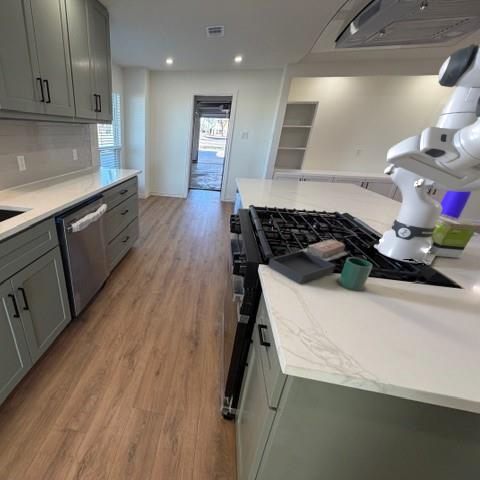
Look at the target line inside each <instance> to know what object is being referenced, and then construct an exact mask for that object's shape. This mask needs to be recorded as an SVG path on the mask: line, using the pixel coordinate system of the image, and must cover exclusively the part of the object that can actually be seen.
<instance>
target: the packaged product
mask: <svg viewBox="0 0 480 480" xmlns="http://www.w3.org/2000/svg"><path fill="white" fill-rule="evenodd" d="M345 247H346V244H345V243H344V242H342V241H338V240H336V239H332V238H330V239H326V240H323V241H319V242H315V243H313V244H309V245H308V246H307V247H306V248H303V249H299V251H301V250H303V251H305V252H307V253H309V254H312V255H314V256H316V257H319V258H321V259H323V260H325V261H328V262H330V261H334V260H338V259H340V258H342V257H344V256H348V254H349V252H347V251H345Z"/></svg>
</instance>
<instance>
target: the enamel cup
mask: <svg viewBox="0 0 480 480" xmlns="http://www.w3.org/2000/svg"><path fill="white" fill-rule="evenodd" d="M372 269H373V264H372V263H371V262H370V261H368V260H366V259H363V258H359V257H355V256H354V257H351V256H350V257H347V258H346V259H345V262H344V265H343V268H342V271H341V273H340V276H339V278H338V284H339V285H341V286H342V287H343V288H345V289H348V290H351V291H355V292H359V291H363V290H364V288H365V285H366V283H367V281H368V278H369V276H370V274H371V271H372Z"/></svg>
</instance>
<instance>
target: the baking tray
mask: <svg viewBox="0 0 480 480" xmlns="http://www.w3.org/2000/svg"><path fill="white" fill-rule="evenodd" d="M300 250H301V251H300ZM300 250H298V251H294V252H290V253H286V254H283V255H280V256H275V257H272V258H269V261H268V267H269V268H271V269H273V270H275V271H276V272H278V273H280V274H281V275H284V276H285V277H287V278H289V279H291V280H293V281H294V282H296V283H298V284H300V285H302V284H304V283H307V282H310V281H313V280H315V279H319V278H321V277H324V276H326V275H330V274H333V273H334V272H335V269H336V264H334V263H332V262H330V261H325V260H323V259H321V258H319V257H316V256H314V255H312V254H309V253H307V252H305V251H303V250H302V249H300ZM286 259H287V260H286ZM283 260H284V261H283Z"/></svg>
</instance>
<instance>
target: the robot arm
mask: <svg viewBox="0 0 480 480" xmlns="http://www.w3.org/2000/svg"><path fill="white" fill-rule="evenodd" d="M438 84H439V86H441V87H444V88H453V87H456V88H455V89H454V90H453V92H452V93H451V95H450V96H449V98H448V100H447V101H446V102H445V105H444V107H443V109H442V110H441V112H440V115H439V117H438V120H437V122H436V124H435V126H429V127H426V128H425V129H423V130H422V132H421V134H416V135H413V136H410V137H407V138H405V139H403V140H401V141H400V142H398V143H396V144H394V145H393V146H391V147H390V148H389V149H388V150H387V154H386V162H387V163H389V164H390V165H389V166H388V167H386V168H385V169H384V171H383V174H385V175H387V176H390V179H391V181H392V182H393V183H394V184H395V185H396V186H397V187H398V188H399V191H400V193H401V196H402V198H401V199H402V202H401V206H400V209H399V212H398V215H397V217H396V219H394V221H393V222H392V226H391V229H387V230H385V232H384V233H383V235H382V238H380V239H379V243H375V244H374V245H373V247H374V248H375V249H376V250H377V251H378V253H380V254H382V255H383V256H386V257H388V258H390V259H392V260H393V259H394V260H396V261H400V262H404V263H410V264H418V263H417V262H415V261H409V260H403V259H411V258H414V259H418V260H421V261H423V262H424V263H425V264H426V265H425V266H431V265H432V263H433V261H434V260H435V258H436V257H437V256H436V255H435V254H433V253H431V252H430V249H431V247H432V245H433V240H432V238H431V236H432V235H433V233H434V230H435V228H436V226H435V224H436V222H437V220H438V218H439V216H440V214H441V212H442V206H441V202H439V201H437V200H436V199H434V198H432V197H431V196H429V195H428V194H427V191H428V190H440V191H446V192H447V191H455V192H468V191H471V192H477V191H480V44H475V43H471V44H470V45H468V46H465V47H462V48H460V49H456V50H455V51H454V52H453V53H451V54H450V55H448V58H447V59H445V61H444V62H443V64H442V65H441V66H440V68H439V71H438Z"/></svg>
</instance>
